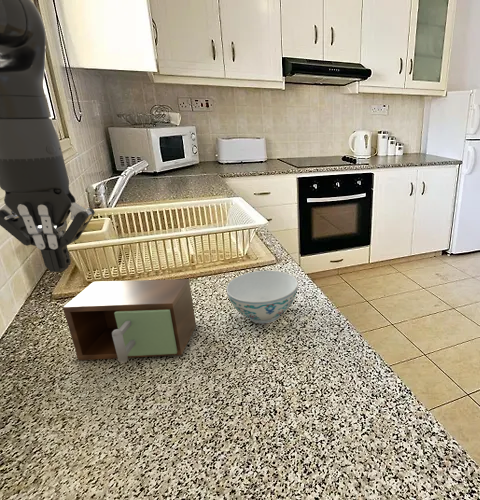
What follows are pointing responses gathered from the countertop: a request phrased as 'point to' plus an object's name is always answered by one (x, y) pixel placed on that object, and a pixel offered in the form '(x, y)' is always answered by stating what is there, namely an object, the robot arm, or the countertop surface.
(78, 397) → the countertop surface
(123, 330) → the slide door
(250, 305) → the chinaware
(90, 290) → the cupboard
